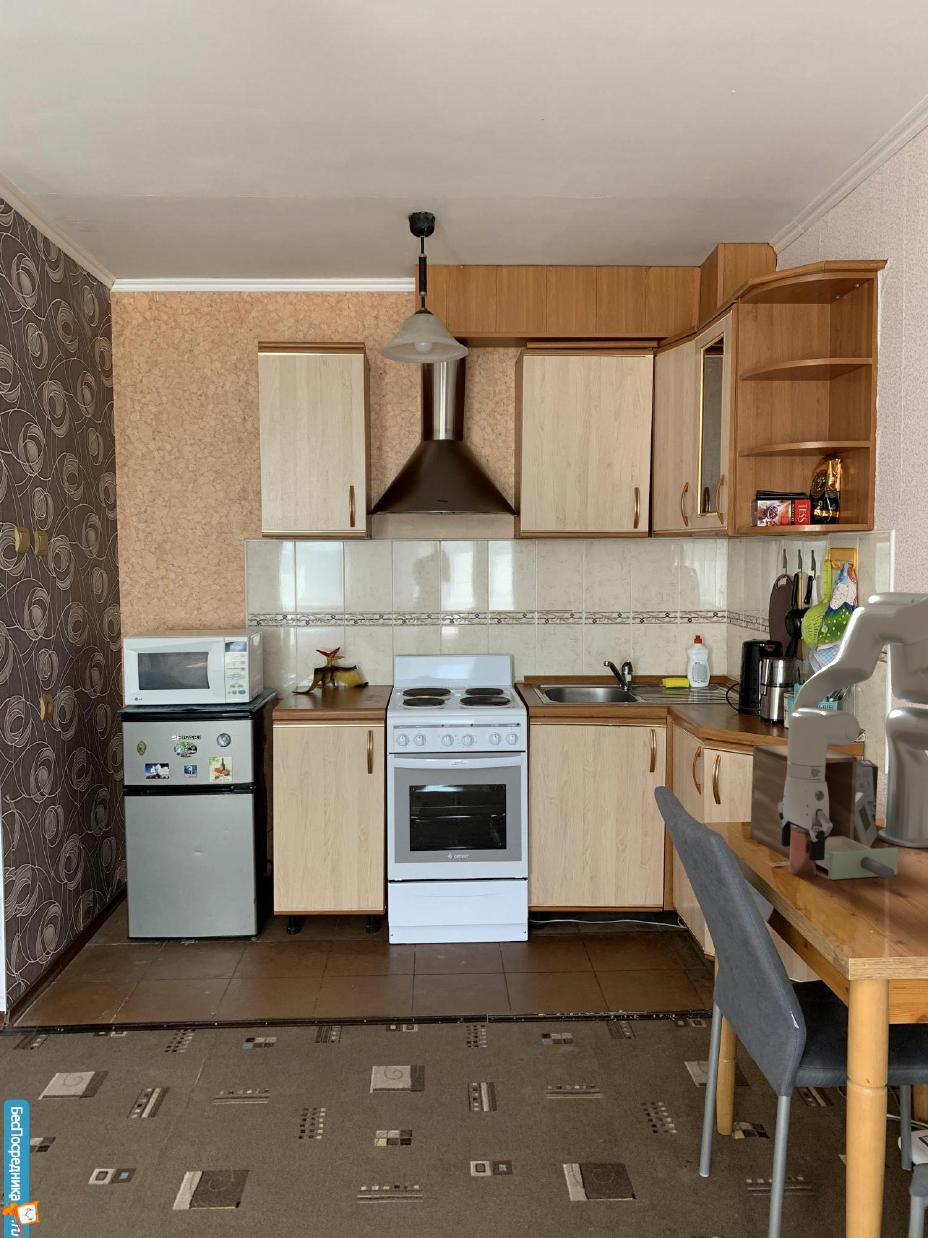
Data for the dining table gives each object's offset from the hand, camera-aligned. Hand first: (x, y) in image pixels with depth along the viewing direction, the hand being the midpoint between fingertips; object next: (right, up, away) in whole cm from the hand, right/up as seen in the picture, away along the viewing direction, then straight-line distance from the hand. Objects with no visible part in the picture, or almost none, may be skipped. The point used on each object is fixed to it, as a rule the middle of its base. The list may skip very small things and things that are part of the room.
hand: (802, 852), depth 192 cm
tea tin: (0, -4, 0) cm, 4 cm away
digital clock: (+22, -4, +22) cm, 31 cm away
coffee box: (+28, -3, +37) cm, 46 cm away
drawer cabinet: (+7, -3, +20) cm, 21 cm away
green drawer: (+11, -4, +2) cm, 12 cm away
